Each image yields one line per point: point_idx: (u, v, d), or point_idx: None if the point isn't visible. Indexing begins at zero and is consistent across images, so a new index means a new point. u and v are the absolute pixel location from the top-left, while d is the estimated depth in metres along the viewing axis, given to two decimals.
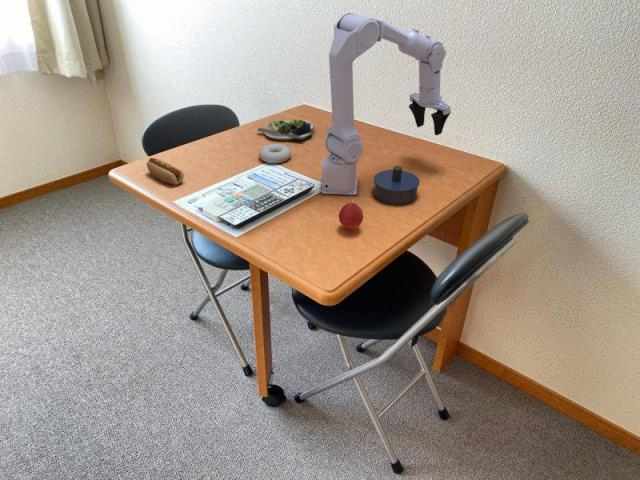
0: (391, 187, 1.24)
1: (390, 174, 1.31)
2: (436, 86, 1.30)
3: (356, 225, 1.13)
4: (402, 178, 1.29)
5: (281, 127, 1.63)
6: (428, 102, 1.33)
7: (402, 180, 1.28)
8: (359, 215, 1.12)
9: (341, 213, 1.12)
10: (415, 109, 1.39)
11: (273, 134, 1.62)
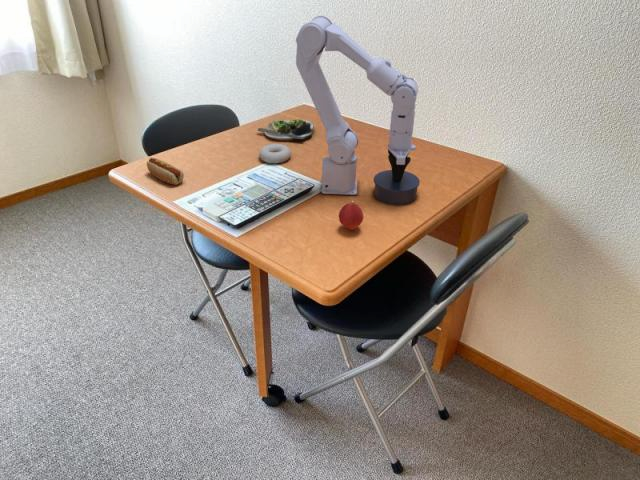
0: (391, 187, 1.24)
1: (390, 174, 1.31)
2: (399, 132, 1.18)
3: (356, 225, 1.13)
4: (402, 178, 1.29)
5: (281, 127, 1.63)
6: (392, 146, 1.21)
7: (402, 180, 1.28)
8: (359, 215, 1.12)
9: (341, 213, 1.12)
10: (391, 154, 1.26)
11: (273, 134, 1.62)
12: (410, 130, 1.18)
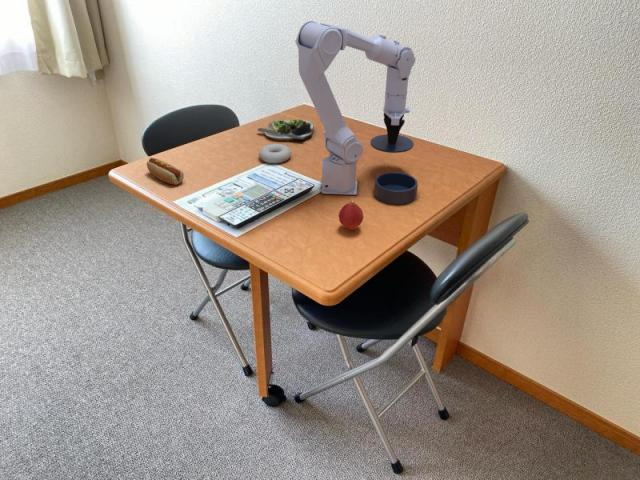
0: (387, 148, 1.32)
1: (386, 138, 1.38)
2: (402, 94, 1.25)
3: (356, 225, 1.13)
4: (397, 141, 1.36)
5: (281, 127, 1.63)
6: (387, 108, 1.28)
7: (397, 143, 1.35)
8: (359, 215, 1.12)
9: (341, 213, 1.12)
10: (386, 118, 1.33)
11: (273, 134, 1.62)
12: None
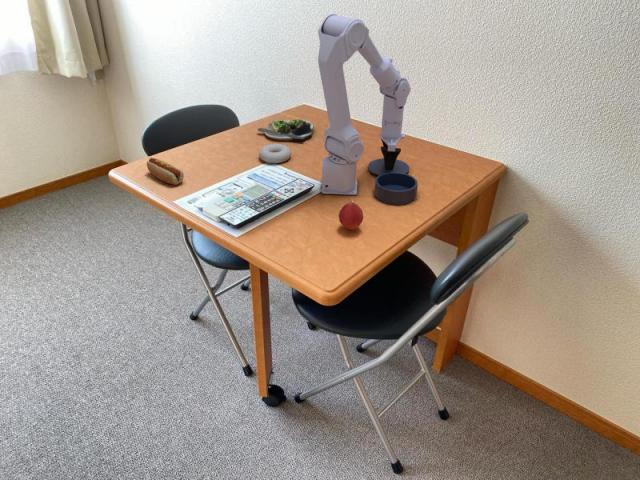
0: (383, 173, 1.39)
1: (383, 162, 1.45)
2: (399, 121, 1.32)
3: (356, 225, 1.13)
4: None
5: (281, 127, 1.63)
6: (383, 135, 1.35)
7: None
8: (359, 215, 1.12)
9: (341, 213, 1.12)
10: (383, 140, 1.42)
11: (273, 134, 1.62)
12: None
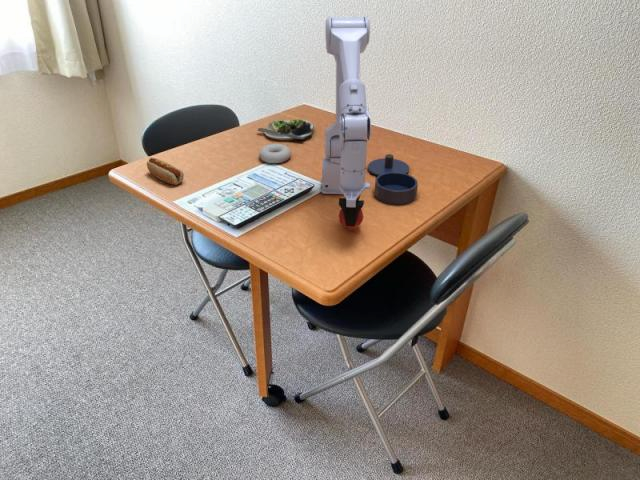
0: (383, 173, 1.39)
1: (383, 162, 1.45)
2: (340, 165, 1.06)
3: (356, 225, 1.13)
4: (393, 165, 1.43)
5: (281, 127, 1.63)
6: (342, 185, 1.07)
7: (393, 167, 1.42)
8: (359, 215, 1.12)
9: (341, 213, 1.13)
10: None
11: (273, 134, 1.62)
12: (347, 169, 1.04)
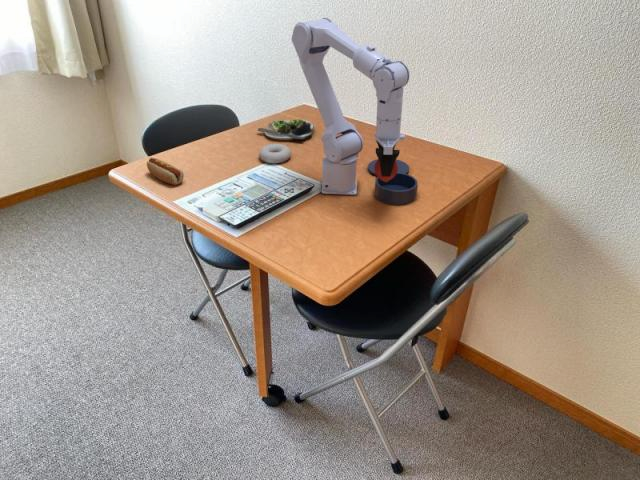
0: None
1: None
2: (381, 118, 1.10)
3: (391, 176, 1.18)
4: None
5: (281, 127, 1.63)
6: (379, 135, 1.13)
7: None
8: (394, 166, 1.17)
9: (377, 164, 1.18)
10: (379, 142, 1.19)
11: (273, 134, 1.62)
12: (392, 118, 1.09)
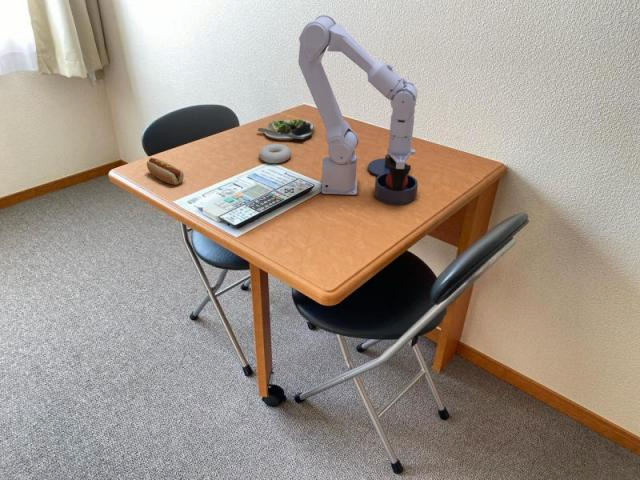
0: (383, 173, 1.39)
1: (383, 162, 1.45)
2: (399, 136, 1.18)
3: (402, 188, 1.27)
4: None
5: (281, 127, 1.63)
6: (391, 150, 1.21)
7: None
8: (405, 179, 1.26)
9: (388, 177, 1.27)
10: (390, 155, 1.28)
11: (273, 134, 1.62)
12: (410, 134, 1.19)
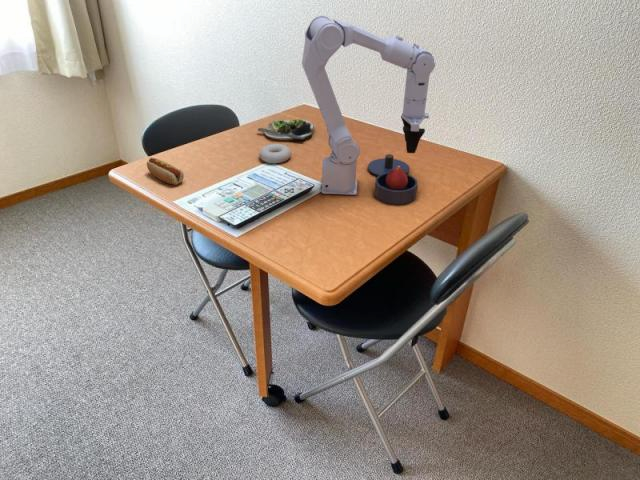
0: (383, 173, 1.39)
1: (383, 162, 1.45)
2: (419, 99, 1.21)
3: (402, 188, 1.27)
4: (393, 165, 1.43)
5: (281, 127, 1.63)
6: (406, 114, 1.24)
7: (393, 167, 1.42)
8: (405, 179, 1.26)
9: (388, 177, 1.27)
10: (404, 120, 1.31)
11: (273, 134, 1.62)
12: (426, 96, 1.23)
